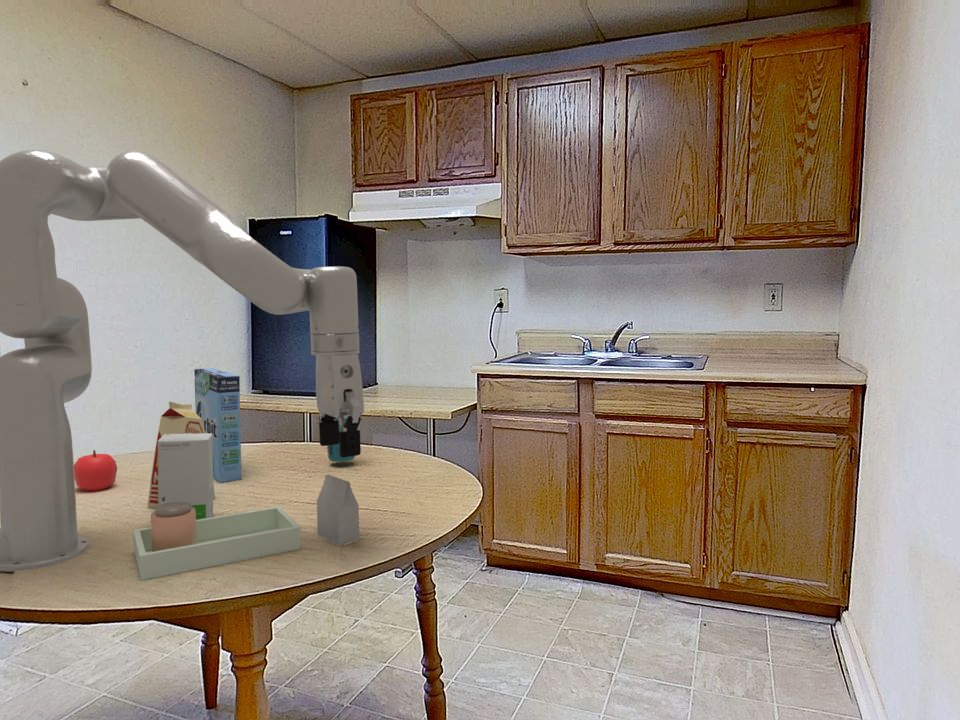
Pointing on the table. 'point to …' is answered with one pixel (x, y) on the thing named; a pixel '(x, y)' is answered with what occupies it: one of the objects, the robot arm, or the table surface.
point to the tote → (220, 542)
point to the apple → (95, 472)
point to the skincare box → (186, 471)
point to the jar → (173, 526)
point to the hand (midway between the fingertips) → (339, 450)
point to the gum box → (221, 419)
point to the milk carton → (173, 422)
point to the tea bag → (337, 512)
